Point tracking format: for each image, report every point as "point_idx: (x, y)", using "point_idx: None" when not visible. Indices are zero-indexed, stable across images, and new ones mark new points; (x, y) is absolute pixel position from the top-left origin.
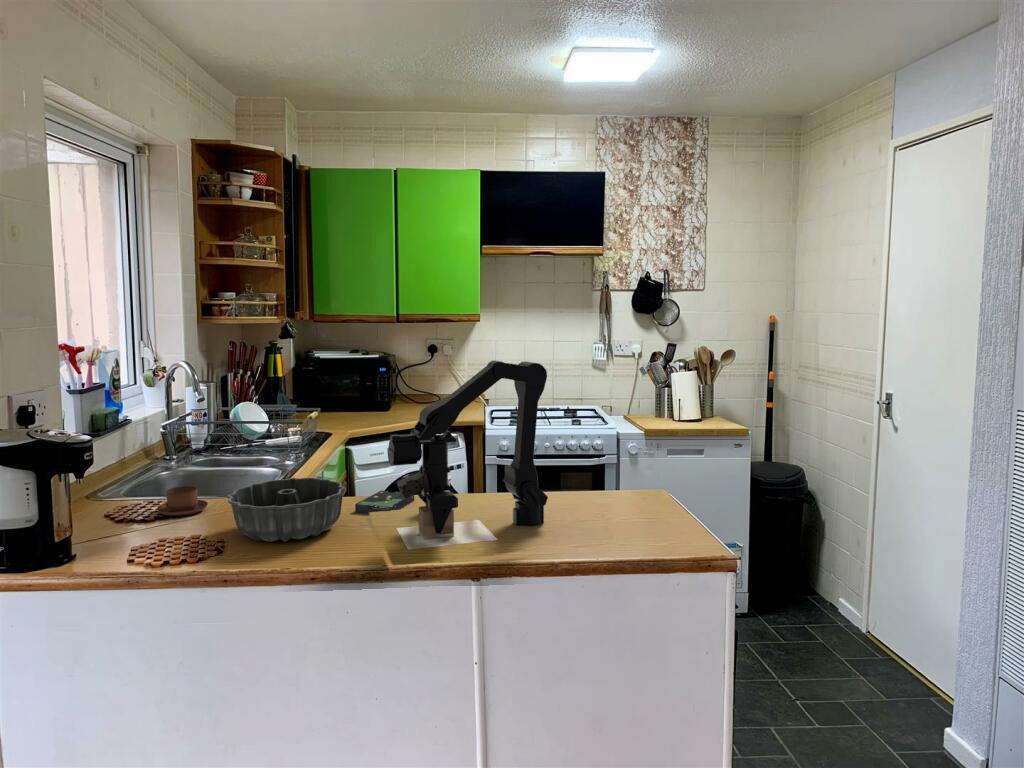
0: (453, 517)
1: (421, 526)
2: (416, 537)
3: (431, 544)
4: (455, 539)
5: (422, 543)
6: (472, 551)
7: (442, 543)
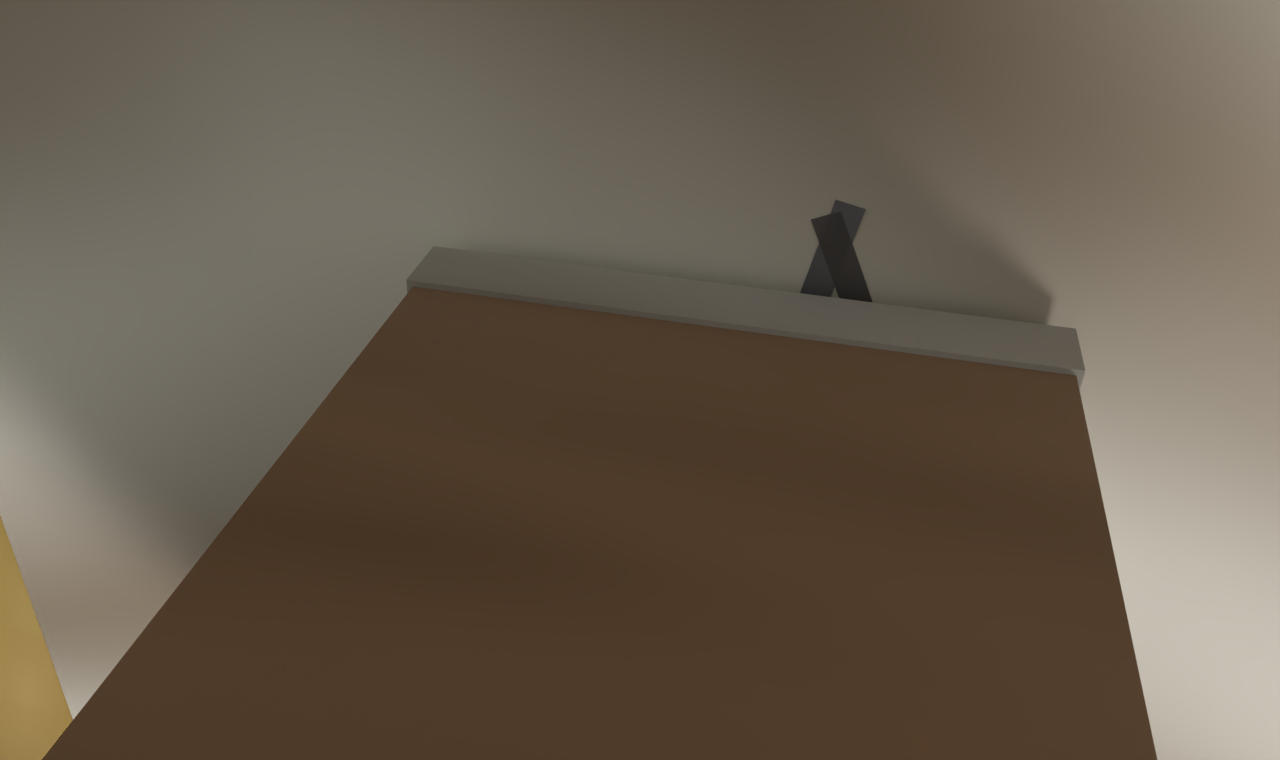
0: None
1: (591, 446)
2: (696, 138)
3: (66, 292)
4: None
5: (155, 132)
6: (17, 706)
7: (108, 491)
